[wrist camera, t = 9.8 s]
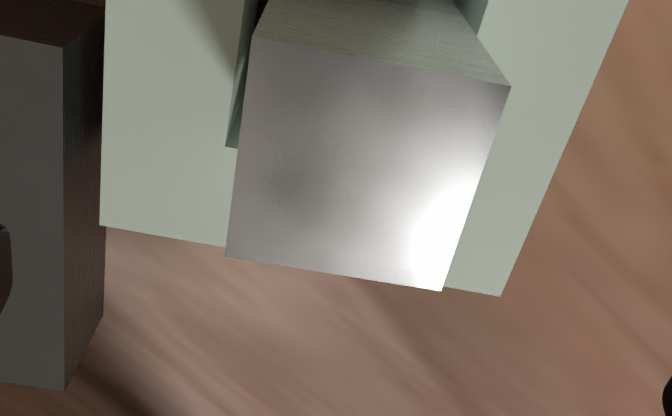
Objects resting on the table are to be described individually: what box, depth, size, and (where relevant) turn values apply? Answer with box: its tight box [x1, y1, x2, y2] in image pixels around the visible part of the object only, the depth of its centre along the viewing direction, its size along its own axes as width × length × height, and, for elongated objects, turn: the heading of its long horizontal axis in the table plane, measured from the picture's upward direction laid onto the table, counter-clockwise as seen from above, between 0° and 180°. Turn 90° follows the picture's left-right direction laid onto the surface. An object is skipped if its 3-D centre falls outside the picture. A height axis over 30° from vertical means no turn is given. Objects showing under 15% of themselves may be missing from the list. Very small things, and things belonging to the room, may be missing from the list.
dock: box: [99, 0, 629, 296], centre depth 17 cm, size 12×12×4 cm
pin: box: [225, 0, 511, 291], centre depth 15 cm, size 4×4×10 cm
